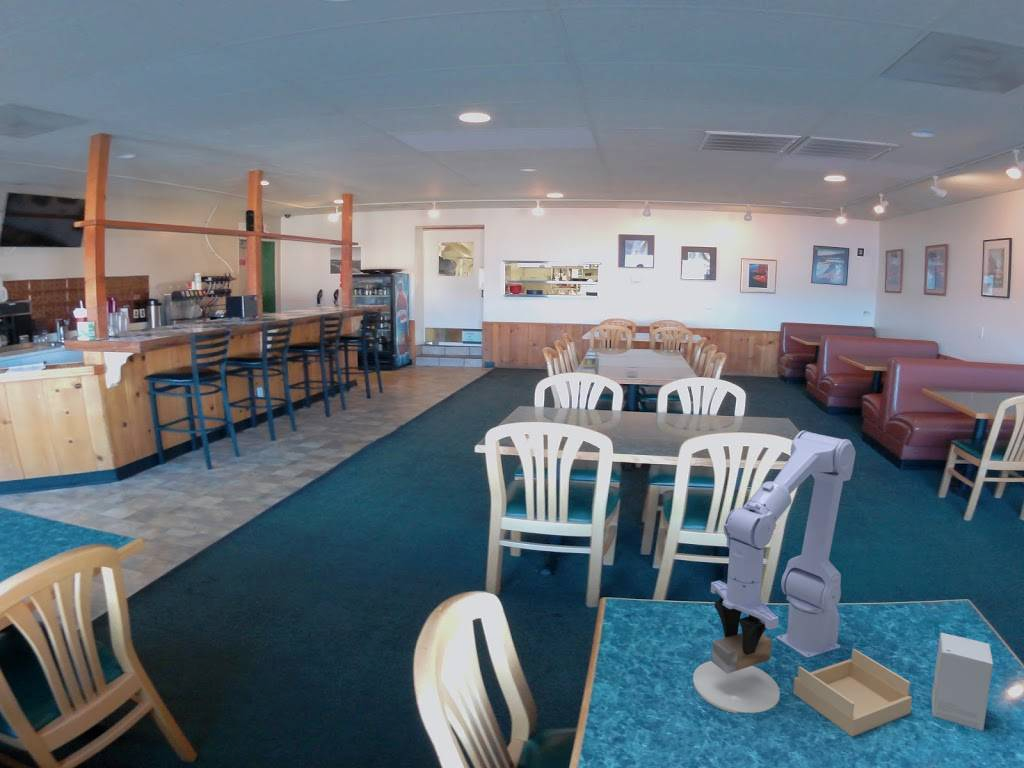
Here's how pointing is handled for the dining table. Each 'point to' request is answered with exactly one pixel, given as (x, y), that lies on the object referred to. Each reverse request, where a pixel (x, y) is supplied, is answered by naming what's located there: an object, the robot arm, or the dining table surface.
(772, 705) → the plate
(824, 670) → the wooden tray
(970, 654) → the supplement box
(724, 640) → the brown rectangular block
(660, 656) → the dining table surface
